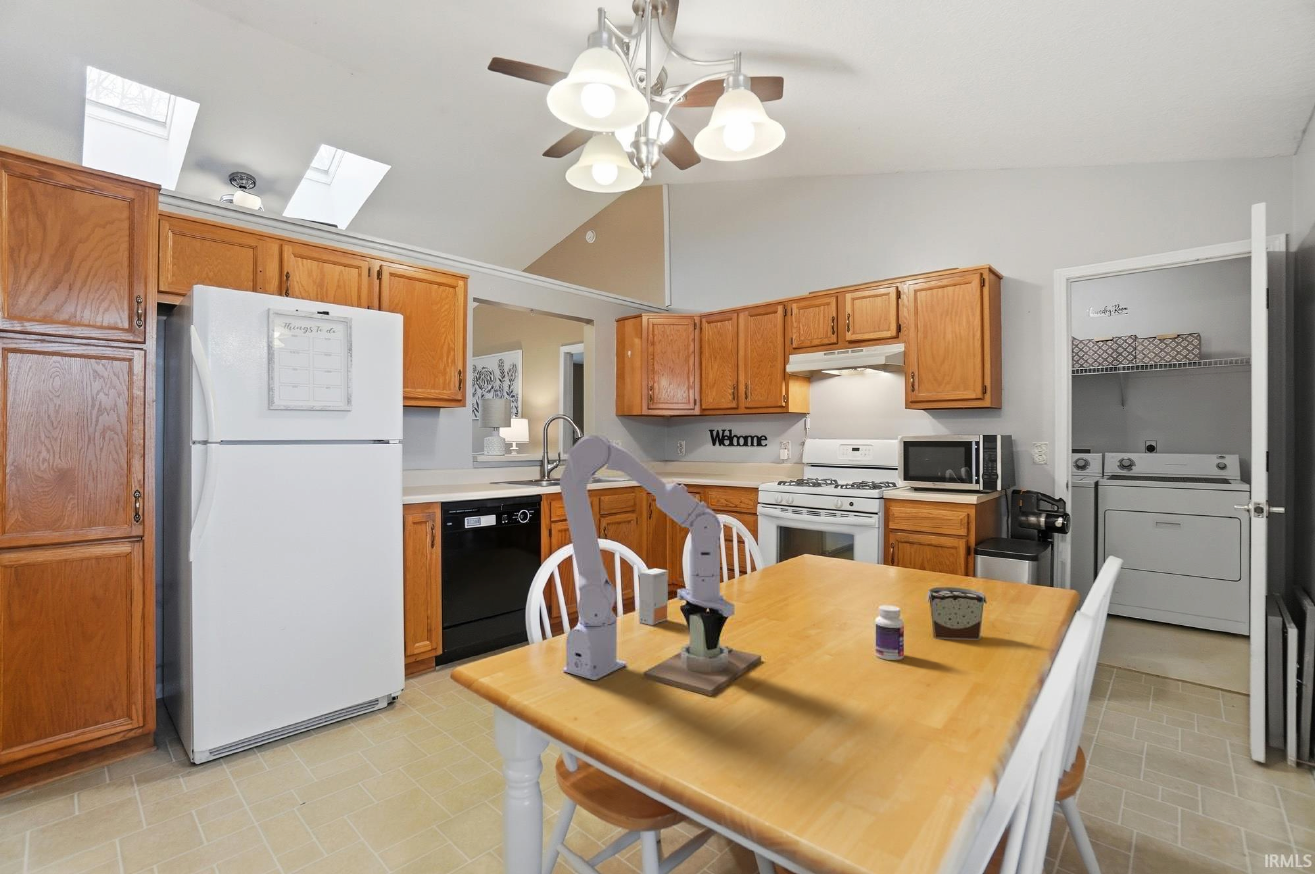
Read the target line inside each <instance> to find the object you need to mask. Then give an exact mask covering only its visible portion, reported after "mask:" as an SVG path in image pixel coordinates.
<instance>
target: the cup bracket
mask: <svg viewBox="0 0 1315 874" xmlns="http://www.w3.org/2000/svg"><path fill="white" fill-rule="evenodd" d="M761 661H762V655H760V654H756V653H751V652H746V651H742V650H737V649H734V648H732V647H729V646H727V645H725V646H723V645H722V644H720V655H719V656H714V657H697V656H693V655H690V643H688V644H686V645H683V646H682V647H681V648H680V652H678V653H676V654H674V655H672V656H671V657H669V658H667V659H665V660H663V661H661V662H659V663H658V664H656V665H654V666H652V667H649V668H648V669H647V670H644V671H643V676H642V677H643V679H646V680H647V679H648V680H651V681H655V682H658V683H662V684H665V685H668V686H669V685H670V686H672V687H676V688H680V689H682V690H686V691H691V692H693V693H698V694H701V695H705V696H708V697H711V696H713V695H715V694H716V693H717V692H719V691H720V690H721V689H723V688H724V687H726V686H728V685H729V684H730V683H731V682H733V681H734V680H736V679H737V678H739V677H740V676H742V675H743V674H745V673H746V672H747V671H749V670H750V669H752V668H753V667H754V666H756V665H758V663H760V662H761Z"/></svg>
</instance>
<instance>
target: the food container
mask: <svg viewBox="0 0 1315 874" xmlns="http://www.w3.org/2000/svg"><path fill="white" fill-rule="evenodd" d="M986 597H987V596H985V593H983V592H981V591H977V590H974V589H970V588H962V587H955V586H953V587H952V586H939V587H931V588H930V589H929V590H928V592H927V595H926V602H928V603H929V606H930V608H929V609H930V617H931V625H932V626H931V627H932V635H933V638H934V639H939V640H940V639H941V640H969V641H972V640H973V641H980V639H981V630H982V623H983V622H982V621H983V613H984V604H986V605H987V598H986Z"/></svg>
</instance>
